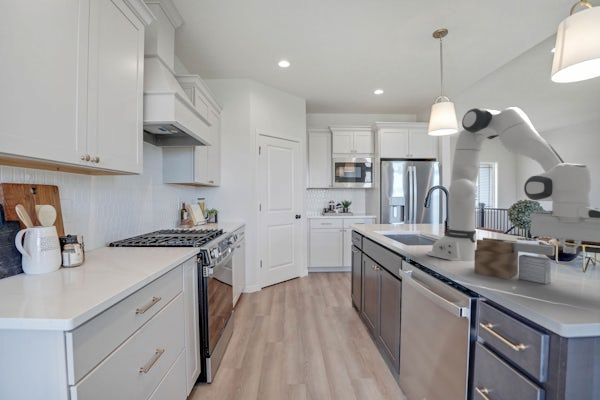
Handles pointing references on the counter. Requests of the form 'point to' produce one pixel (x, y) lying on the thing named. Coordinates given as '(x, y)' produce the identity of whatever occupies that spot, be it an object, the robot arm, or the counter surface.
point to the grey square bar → (532, 248)
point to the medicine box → (535, 268)
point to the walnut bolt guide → (496, 258)
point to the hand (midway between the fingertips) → (569, 252)
